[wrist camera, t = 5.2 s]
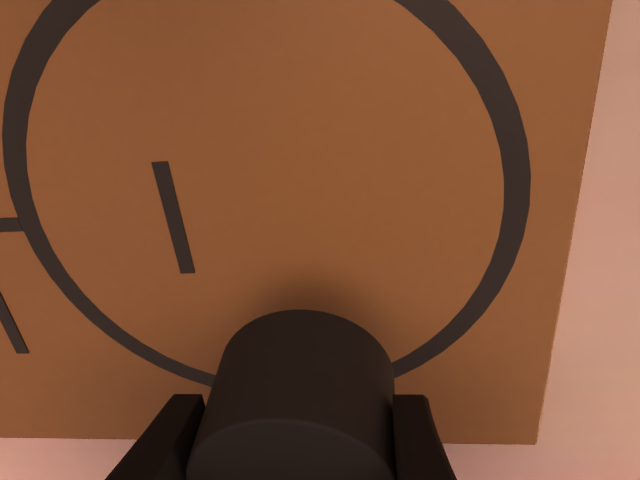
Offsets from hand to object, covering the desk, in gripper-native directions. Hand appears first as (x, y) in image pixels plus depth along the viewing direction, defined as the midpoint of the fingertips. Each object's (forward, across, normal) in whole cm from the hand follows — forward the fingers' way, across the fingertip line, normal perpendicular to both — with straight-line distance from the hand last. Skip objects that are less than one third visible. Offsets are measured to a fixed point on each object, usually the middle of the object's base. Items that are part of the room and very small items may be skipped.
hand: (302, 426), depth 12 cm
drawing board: (+4, +5, -2) cm, 7 cm away
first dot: (+1, 0, 0) cm, 1 cm away
